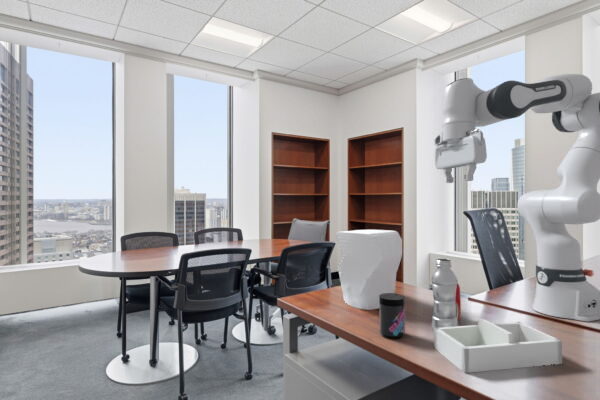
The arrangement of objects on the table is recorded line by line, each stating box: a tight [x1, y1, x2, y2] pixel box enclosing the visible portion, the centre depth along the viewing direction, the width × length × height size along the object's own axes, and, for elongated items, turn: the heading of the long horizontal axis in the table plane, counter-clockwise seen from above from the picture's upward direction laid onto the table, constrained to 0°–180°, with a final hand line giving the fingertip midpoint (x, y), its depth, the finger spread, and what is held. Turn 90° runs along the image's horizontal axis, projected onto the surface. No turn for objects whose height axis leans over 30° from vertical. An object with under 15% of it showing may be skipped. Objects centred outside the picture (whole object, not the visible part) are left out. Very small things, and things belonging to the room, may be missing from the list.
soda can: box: [455, 280, 462, 322], centre depth 103 cm, size 7×7×12 cm
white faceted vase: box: [334, 229, 403, 311], centre depth 120 cm, size 21×27×26 cm
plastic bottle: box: [430, 258, 459, 331], centre depth 92 cm, size 6×7×20 cm
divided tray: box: [433, 317, 563, 374], centre depth 78 cm, size 23×12×7 cm, turn 98°
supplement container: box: [378, 292, 406, 340], centre depth 92 cm, size 7×7×10 cm
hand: (458, 182), depth 100 cm, fingers open, 8 cm apart
